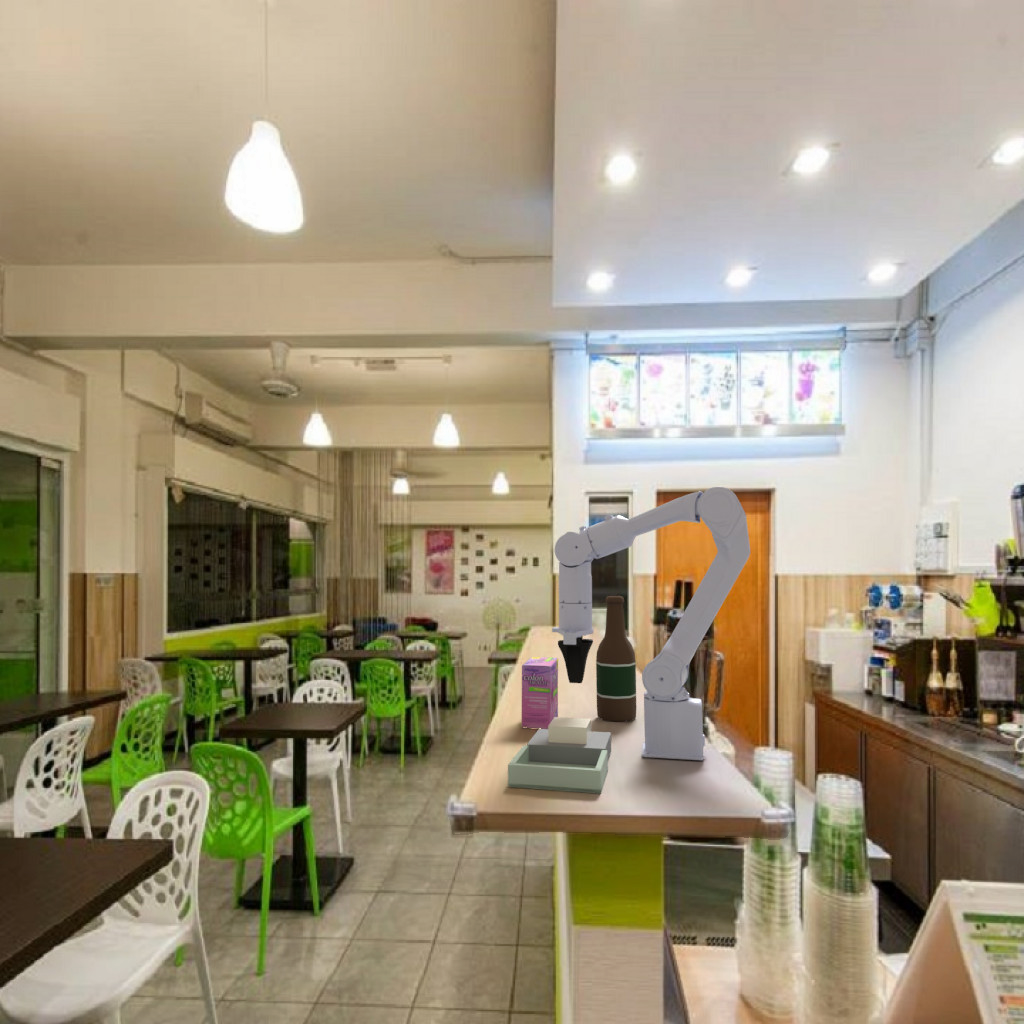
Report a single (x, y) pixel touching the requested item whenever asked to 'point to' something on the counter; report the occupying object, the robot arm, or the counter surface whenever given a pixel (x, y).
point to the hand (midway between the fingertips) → (575, 682)
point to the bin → (557, 774)
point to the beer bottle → (615, 668)
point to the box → (539, 692)
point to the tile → (569, 730)
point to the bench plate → (568, 749)
